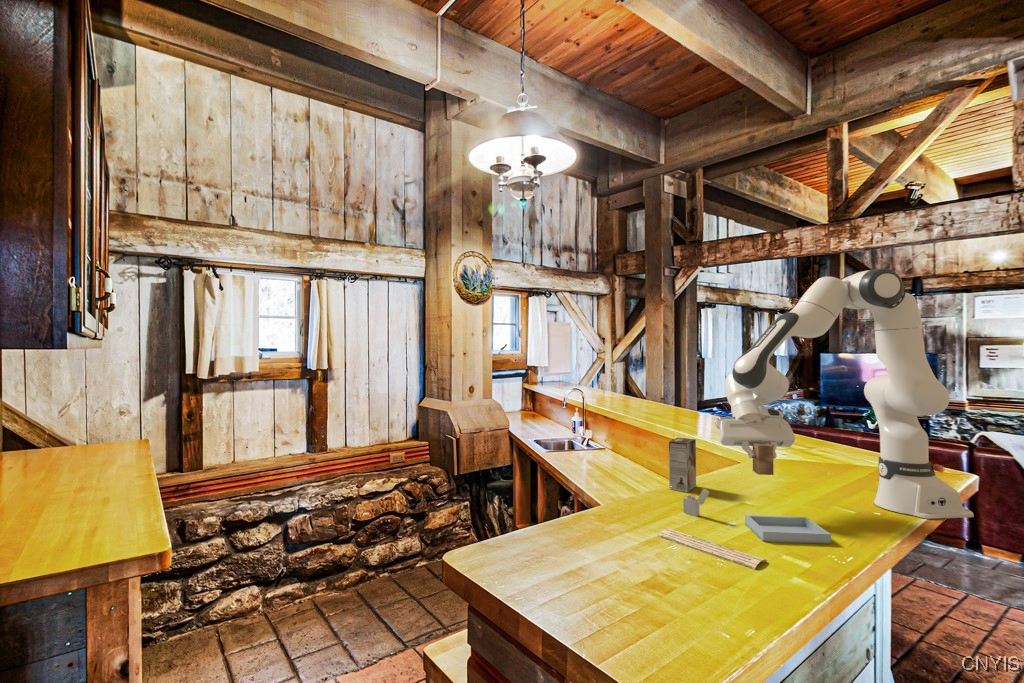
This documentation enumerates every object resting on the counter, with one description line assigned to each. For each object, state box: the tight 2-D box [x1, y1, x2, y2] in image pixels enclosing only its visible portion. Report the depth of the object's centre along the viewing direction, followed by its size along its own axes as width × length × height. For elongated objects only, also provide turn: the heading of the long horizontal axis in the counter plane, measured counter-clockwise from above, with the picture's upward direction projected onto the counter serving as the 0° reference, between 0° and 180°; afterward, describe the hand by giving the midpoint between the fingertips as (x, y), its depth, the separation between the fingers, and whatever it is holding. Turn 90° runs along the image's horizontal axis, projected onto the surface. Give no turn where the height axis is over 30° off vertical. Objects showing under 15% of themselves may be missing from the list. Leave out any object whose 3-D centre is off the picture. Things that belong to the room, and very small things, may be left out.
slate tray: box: [744, 514, 832, 545], centre depth 122 cm, size 16×12×2 cm
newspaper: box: [657, 528, 768, 571], centre depth 113 cm, size 24×7×2 cm, turn 41°
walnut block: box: [752, 443, 775, 476], centre depth 135 cm, size 4×4×8 cm
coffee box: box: [668, 437, 697, 493], centre depth 161 cm, size 9×6×16 cm
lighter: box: [682, 488, 710, 518], centre depth 134 cm, size 7×2×8 cm, turn 41°
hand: (763, 457), depth 135 cm, fingers closed on walnut block, 4 cm apart
